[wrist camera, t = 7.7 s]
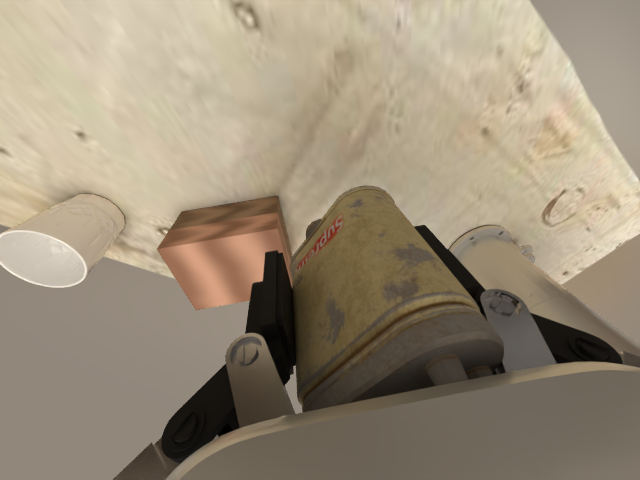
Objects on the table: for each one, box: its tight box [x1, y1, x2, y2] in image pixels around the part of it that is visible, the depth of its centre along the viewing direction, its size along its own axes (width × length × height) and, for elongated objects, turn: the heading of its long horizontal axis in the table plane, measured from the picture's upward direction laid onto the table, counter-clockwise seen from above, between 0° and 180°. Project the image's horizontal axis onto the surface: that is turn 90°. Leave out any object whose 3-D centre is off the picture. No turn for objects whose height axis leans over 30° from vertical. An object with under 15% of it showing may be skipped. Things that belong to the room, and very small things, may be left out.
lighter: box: [290, 186, 504, 412], centre depth 9 cm, size 7×4×10 cm, turn 145°
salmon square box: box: [157, 196, 292, 310], centre depth 36 cm, size 14×11×9 cm
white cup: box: [0, 194, 125, 288], centre depth 30 cm, size 8×8×10 cm
